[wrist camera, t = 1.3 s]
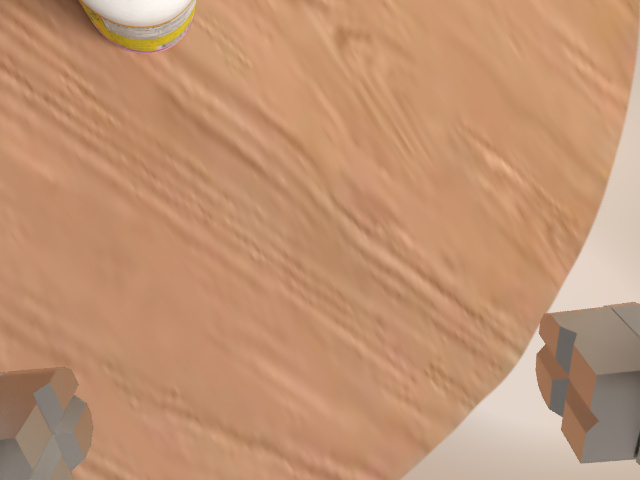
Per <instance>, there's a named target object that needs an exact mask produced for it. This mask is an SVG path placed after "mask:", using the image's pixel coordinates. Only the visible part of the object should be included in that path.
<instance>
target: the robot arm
mask: <svg viewBox="0 0 640 480" xmlns="http://www.w3.org/2000/svg"><path fill="white" fill-rule="evenodd" d="M539 334H540V336H541V337H542V339H543V340H544V342H545V346H544V347H543V348H542V349H541V350H540V351H539V352H538V353H537V357H536V375H537V381H538V386H539V389H540V391H541V394H542V396H543V399H544V401H545V402H546V404H547V406H548V408H549V409H550V410H552V411H553V412H555V413H557V414H558V415H560V416H562V417H563V420H562V427H561V430H562V432H563V434H564V436H565V437H566V439H567V441H568V442H569V444H570V446H571V448H572V449H573V451H574V453H575V454H576V456H577V458H578V460H579V461H580V463H593V462H606V461H619V460H632V459H636V462H637V463H638V464H639V465H640V304H638V303H636V302H630V303H622V304H615V305H608V306H604V307H601V308H600V307H599V308H591V309H582V310H574V311H565V312H556V313H547V314H544V315H543V317H542V319H541V321H540V329H539ZM78 385H79V384H78V382H77V380H76V378H75V376H74V374H73V372H72V370H71V369H68V368H66V367H56V368H44V369H33V370H22V371H10V372H7V373H5V372H3V373H0V480H74V478H73V475H72V473H71V471H72V470H73V469H74V468H75V467H76V466H78V465H79V464H80V463H81V462H82V461H83V460H84V459H85V458H86V456H87V453H88V451H89V448H90V446H91V441H92V433H93V422H92V416H91V412H90V410H89V407H88V405H87V403H85V402H84V401H83V400H81V399H80V398H78V397H77V396H75V395H74V394H75V391H76V389H77V387H78Z"/></svg>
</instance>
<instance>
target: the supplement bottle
mask: <svg viewBox="0 0 640 480" xmlns="http://www.w3.org/2000/svg"><path fill="white" fill-rule="evenodd" d="M79 2H80V3H81V5H82V7H83V8H84V10H85V12H86V13H87V15H88V17H89V18H90V20H91V21H92V23H93V24H94V25H95V27H96V28H97V29H98V31H99V32H100V33H101V34H102V35H103V36H104V37H105V38H107V39H108V40H109V41H110V42H112V43H113V44H115V45H117V46H119V47H121V48H123V49H125V50H128V51H131V52H136V53H156V52H160V51H163V50H166V49H168V48H170V47H172V46H173V45H175V44H176V43H177V42H179V41H180V40H181V39H182V38H183V36H184V35H185V34H186V32H187V31H188V29H189V27H190V25H191V23H192V20H193V17H194V12H195V7H196V2H197V0H79Z"/></svg>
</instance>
